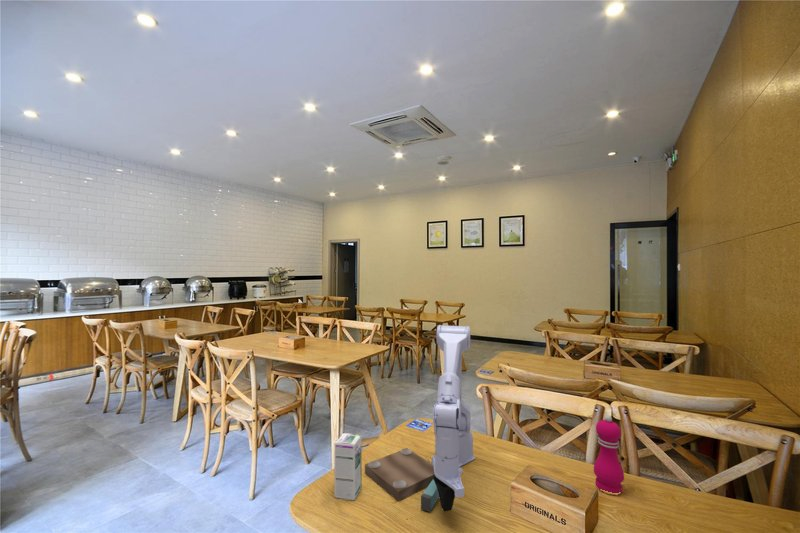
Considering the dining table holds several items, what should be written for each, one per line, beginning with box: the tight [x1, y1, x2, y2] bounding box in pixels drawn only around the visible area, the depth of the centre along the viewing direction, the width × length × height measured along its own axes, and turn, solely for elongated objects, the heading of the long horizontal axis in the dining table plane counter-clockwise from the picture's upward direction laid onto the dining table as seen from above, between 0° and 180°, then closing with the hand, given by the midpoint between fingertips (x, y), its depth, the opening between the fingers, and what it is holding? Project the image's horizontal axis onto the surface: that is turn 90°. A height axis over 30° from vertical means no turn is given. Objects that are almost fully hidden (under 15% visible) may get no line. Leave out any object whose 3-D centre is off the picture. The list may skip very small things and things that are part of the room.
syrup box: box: [334, 432, 363, 501], centre depth 92 cm, size 6×6×14 cm
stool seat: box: [364, 447, 435, 502], centre depth 100 cm, size 16×16×3 cm
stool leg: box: [420, 480, 440, 513], centre depth 91 cm, size 14×3×3 cm, turn 154°
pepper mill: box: [593, 414, 625, 493], centre depth 95 cm, size 7×7×20 cm
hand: (446, 509), depth 84 cm, fingers closed
